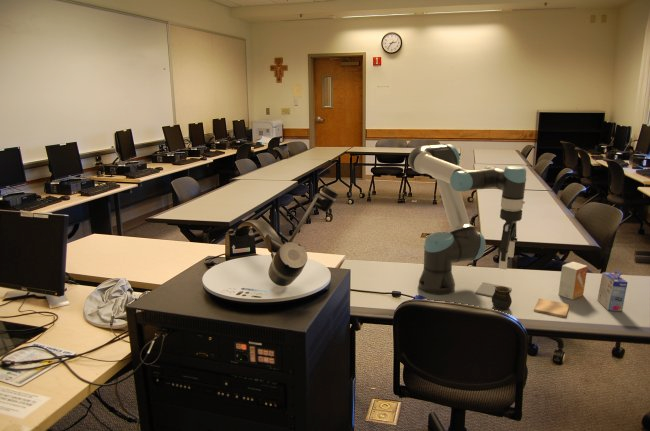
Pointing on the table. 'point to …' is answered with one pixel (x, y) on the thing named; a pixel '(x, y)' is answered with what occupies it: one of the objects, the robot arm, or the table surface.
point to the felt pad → (487, 289)
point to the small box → (572, 280)
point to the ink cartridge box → (612, 291)
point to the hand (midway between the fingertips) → (506, 262)
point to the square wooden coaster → (552, 307)
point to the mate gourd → (501, 298)
